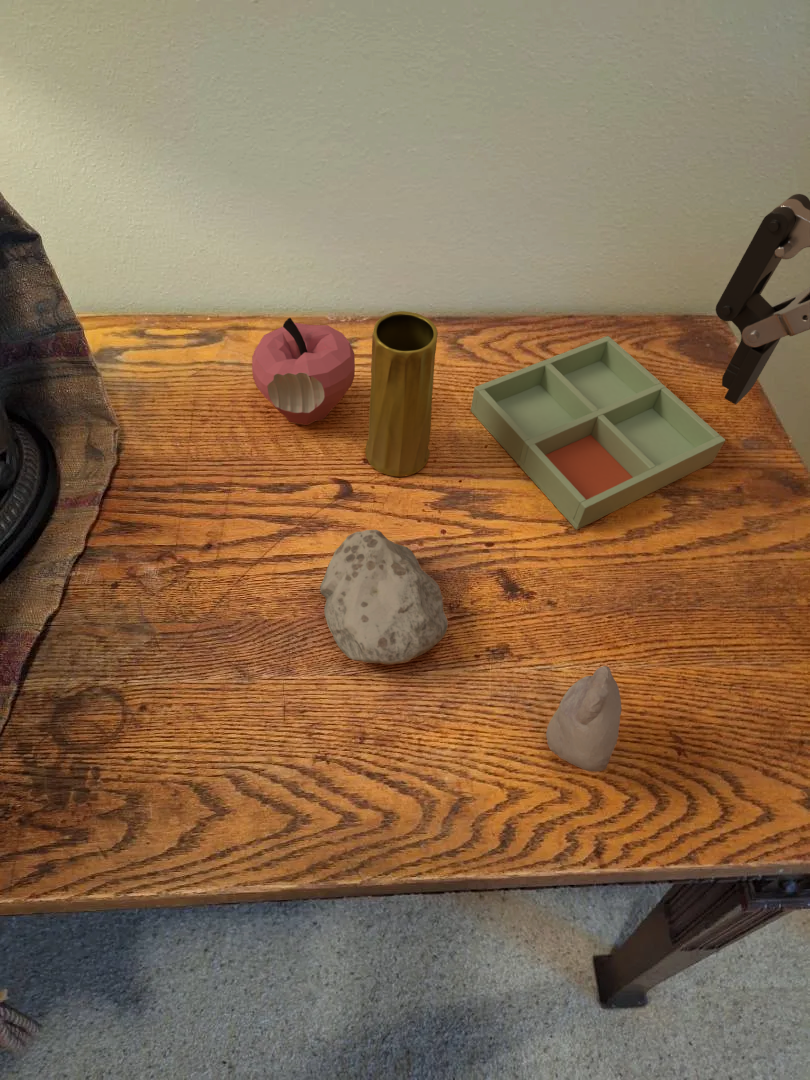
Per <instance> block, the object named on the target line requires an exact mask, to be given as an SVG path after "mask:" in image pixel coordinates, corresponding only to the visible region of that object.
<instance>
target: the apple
mask: <svg viewBox="0 0 810 1080" xmlns="http://www.w3.org/2000/svg"><path fill="white" fill-rule="evenodd" d="M355 356H356V355H355V351H354V348H353V347H352V345H351V342H350V341H349V340H348V339H347V338H346V336H345V335H344V334H343V332H341V331H339V330H338V329H336V328H334V327H332V326H330V325H327V324H307V323H300V322H294V321H293V319H292V318H291V317H289V318H287V319H286V320H285V321H284V323H283V325H282V326H280V327H278V328H275V329H274V330H272V331H269V332H267V333H265V334H264V335H263V336H261V339H260V341H258V344H257V346H256V347H255V349H254V350H253V354H252V356H251V371H252V372H251V373H252V379H253V381H254V384H255V386H256V388H257V390H259V392H260V393H261V395H262V396H263V397H264V398H265V399H266V400H267V401H268V402H269V403H271V405H273V406H274V408H275V409H276V410H277V411H278V412H279V413H280V414H281V415H283V416H284V417H285V419H286V420H287V421H288V422H289V423H292V424H297V425H303V426H308V425H310V424H312V423H314V422H318V421H322V420H323V421H324V419H325V418H326V417H327V416H328V415H329V414H330V412H331V411H332V410H333V409H334V408H336V406H337V405H338V404H339V403H340V401H341V400H342V399H343V398H344V397H345V395H346V393H348V391H349V389H350V388H351V387H352V385H353V382H354V379H355V375H356V373H355V372H356V360H355V359H356V357H355Z"/></svg>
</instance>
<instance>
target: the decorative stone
mask: <svg viewBox="0 0 810 1080" xmlns="http://www.w3.org/2000/svg"><path fill="white" fill-rule="evenodd" d="M319 591H320V594H321V595H322V596H323V597H324V598H325V604H324V608H323V611H324V618H325V621H326V624H327V628H328V629H329V631H330V633H331V635H332V638H333V640H334V641H335V643H336V645H337V647H338V648H339V650H340V651H341V652H342V653H343V654H344V655H345V656H346V657H347V658H348V659H349V660H352V661H355V662H362V663H368V664H382V665H395V664H405V663H408V662H410V661H411V660H412V659H414V658H417V657H420V656H422V655H424V654H426V653H427V652H429V651H430V650H432V648H434V647H435V646H436V645H437V644H438V643H439V642H440V641H441V640H442V639H443V638H445V635H446V634H447V632H448V631H447V630H448V627H449V621H448V618H447V616H446V613H445V611H444V601H443V594H442V591H441V588H440V585H439V584H438V583H437V581H436V580H435V579H434V578H433V577H431V576H430V575H429V574H428V573H426V571H424V570H423V569H422V567H421V565H420V563H419V561H418V559H417V556H416V555H415V554H414V552H413V551H412V550H411V549H410V548H409V547H407V546H405V545H402V544H398V543H395V542H393V541H392V540H390V539H388V537H386V536H385V535H384V534H383V533H382V532H381V531H380V530H379V529H366V530H362V531H355V532H353V533H351V534H349V535H348V536H346V538H345V539H344V540H343V541H342V542H341V544H340V545H339V546H338V547H337V548H335V551H334V553H333V555H332V557H331V559H330V561H329V563H328V565H327V567H326V571H325V573H324V575H323V579H322V581H321V583H320V587H319Z"/></svg>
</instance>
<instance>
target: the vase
mask: <svg viewBox="0 0 810 1080" xmlns="http://www.w3.org/2000/svg"><path fill="white" fill-rule="evenodd" d="M371 337H372V339H371V363H370V382H371V383H370V392H369V408H368V409H369V410H368V437H367V441H366V446H365V452H364V453H365V457H366V460H367V462H368V463H369V465H370V467H372V468H373V469H375V471H377V472H379V473H381V474H384V475H386V476H389V477H398V478H399V477H407V476H412V475H414V474H416V473H418V472H420V471H421V470H422V469H424V468H425V466H426V465H427V463H428V461H429V459H430V455H431V454H430V442H431V441H430V440H431V429H432V410H433V409H432V407H433V391H434V377H435V376H434V375H435V363H436V362H435V360H436V351H437V344H438V343H437V342H438V329H437V327H436V325H435V323H434V322H433V321H432V320H431V319H430V318H428V317H426V316H425V315H422V314H420V313H417V312H412V311H405V310H403V311H402V310H399V311H393V312H389V313H387V314H385V315H383V316H381V317H380V318H379V319H378V320H376V322H375V324H374V327H373V330H372V336H371Z"/></svg>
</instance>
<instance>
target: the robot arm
mask: <svg viewBox="0 0 810 1080" xmlns="http://www.w3.org/2000/svg"><path fill="white" fill-rule="evenodd" d="M807 248H810V198H809V197H808V196H807V195H805V194H803V193H795V194H792V195H791V196H790V197H788V198H787V199H785V200H784V201H783V202H781V203H779V205H778V206H776V207H774V209H773V210H772V211H770V212H769V213H768V214H766V215H765V216H764V217H763V219H762V220H761V222H760V224H759V226H758V228H757V229H756V232H755V233H754V235H753V237H752V239H751V241H750V242H749V245H748V246H747V249H746V250H745V252H744V253H743V256H742V257H741V259H740V261H739V262H738V265H737V266H736V268H735V270H734V272H733V274H732V275H731V277H730V280H729V281H728V283H727V284H726V287H725V289H724V290H723V292H722V294H721V296H720V298H719V299H718V301H717V303H716V305H715V313H716V316H717V317H718V318H719V319H720V320H721V321H724V322H732V323H733V324H734V325H735V327H736V328H737V329H738V330H739V332H740V342H739V344H738V346H737V348H736V349H735V352H734V354H733V356H732V358H731V360H730V361H729V362H728V365H727V366H726V369H725V371H724V373H723V375H722V377H721V380H722V381H721V386H722V387H724V388H726V389H727V391H726V394H725V395H724V400H726V401H728V402H730V403H731V404H733V405H735V406H737V404H738V403H739V402H740V401H742V400H743V398H744V397H746V396H747V395H748V393H750V391H751V390H752V389H753V387H754V386H755V384H756V382H757V381H758V379H759V377H760V375H761V374H762V372H763V370H764V369H765V367H766V365H767V363H768V362H769V360H770V358H771V356H772V354H773V352H774V351H775V349H776V347H777V345H778V344H779V342H780V340H781V339H782V338H784V337H787V336H788V337H793V336H797V335H798V334H799V335H800V334H802V333H805V332H807V331H809V330H810V286H809V287H807V288H805V289H804V290H802V291H801V292H799V293H797V294H795V295H793V296H790V297H788V298H786V299H783V300H781V301H779V302H777V303H774V304H773V305H771V304H770V303H769V302H768V300H766V299H765V298H764V297H763V296H762V295H761V294H762V292H763V291H764V289H765V288H766V286H767V284H768V283H769V281H770V279H771V278H772V276H773V275H774V273H775V271H776V270H777V268H778V267H779V264H780V263H781V261H782V260H791V259H793V258H794V257H796V256H797V255H798V254H800V253H801V251H803V250H804V249H807Z"/></svg>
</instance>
